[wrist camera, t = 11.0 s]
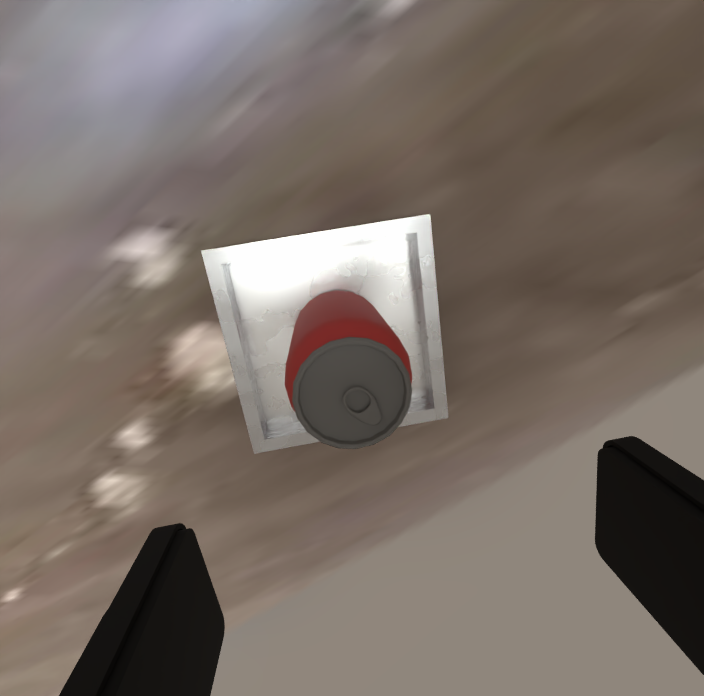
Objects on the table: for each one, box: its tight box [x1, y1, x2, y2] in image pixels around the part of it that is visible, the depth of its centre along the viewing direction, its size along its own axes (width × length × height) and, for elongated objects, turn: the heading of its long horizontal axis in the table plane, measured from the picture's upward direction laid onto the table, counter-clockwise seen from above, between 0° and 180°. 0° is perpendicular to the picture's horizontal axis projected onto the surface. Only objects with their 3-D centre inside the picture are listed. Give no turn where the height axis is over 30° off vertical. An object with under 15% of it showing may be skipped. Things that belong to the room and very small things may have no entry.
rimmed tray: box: [201, 214, 448, 454], centre depth 29 cm, size 15×15×3 cm
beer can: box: [285, 290, 412, 449], centre depth 24 cm, size 7×7×12 cm
